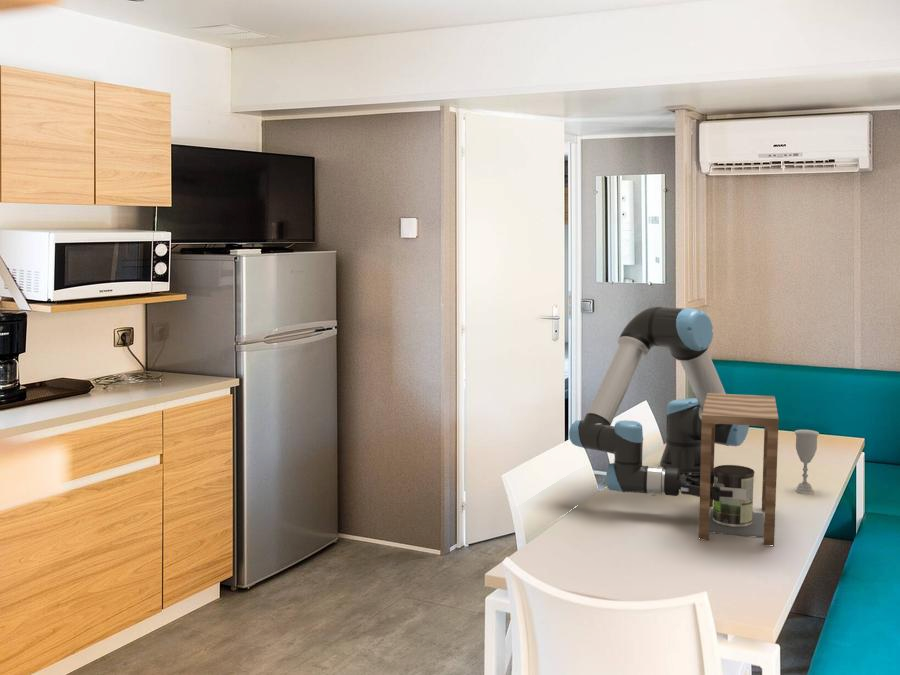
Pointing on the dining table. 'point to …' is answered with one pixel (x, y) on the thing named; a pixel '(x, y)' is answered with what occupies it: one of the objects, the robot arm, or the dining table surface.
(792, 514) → the dining table surface
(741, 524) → the coffee can
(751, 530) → the mat
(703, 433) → the wooden stool
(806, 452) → the chalice
